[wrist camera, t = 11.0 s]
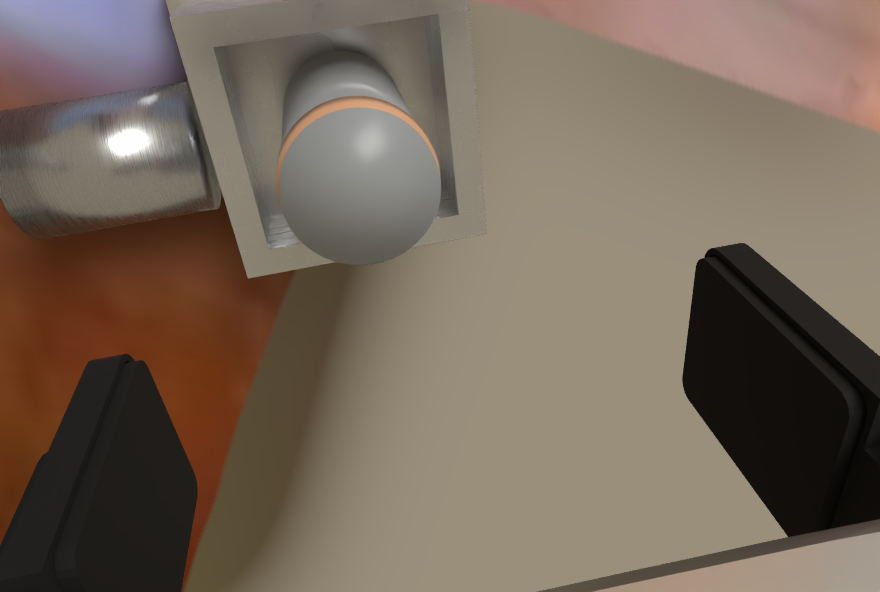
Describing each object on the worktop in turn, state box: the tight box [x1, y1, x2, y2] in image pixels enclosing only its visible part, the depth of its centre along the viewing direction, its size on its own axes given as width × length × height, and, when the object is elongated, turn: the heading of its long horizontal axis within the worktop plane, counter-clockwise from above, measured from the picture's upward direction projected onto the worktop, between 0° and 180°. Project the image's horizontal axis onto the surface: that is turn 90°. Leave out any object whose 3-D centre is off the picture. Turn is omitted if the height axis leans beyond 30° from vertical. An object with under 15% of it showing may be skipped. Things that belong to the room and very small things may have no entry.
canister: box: [276, 51, 441, 265], centre depth 22 cm, size 5×5×8 cm
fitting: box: [0, 0, 487, 278], centre depth 24 cm, size 16×10×4 cm, turn 96°
